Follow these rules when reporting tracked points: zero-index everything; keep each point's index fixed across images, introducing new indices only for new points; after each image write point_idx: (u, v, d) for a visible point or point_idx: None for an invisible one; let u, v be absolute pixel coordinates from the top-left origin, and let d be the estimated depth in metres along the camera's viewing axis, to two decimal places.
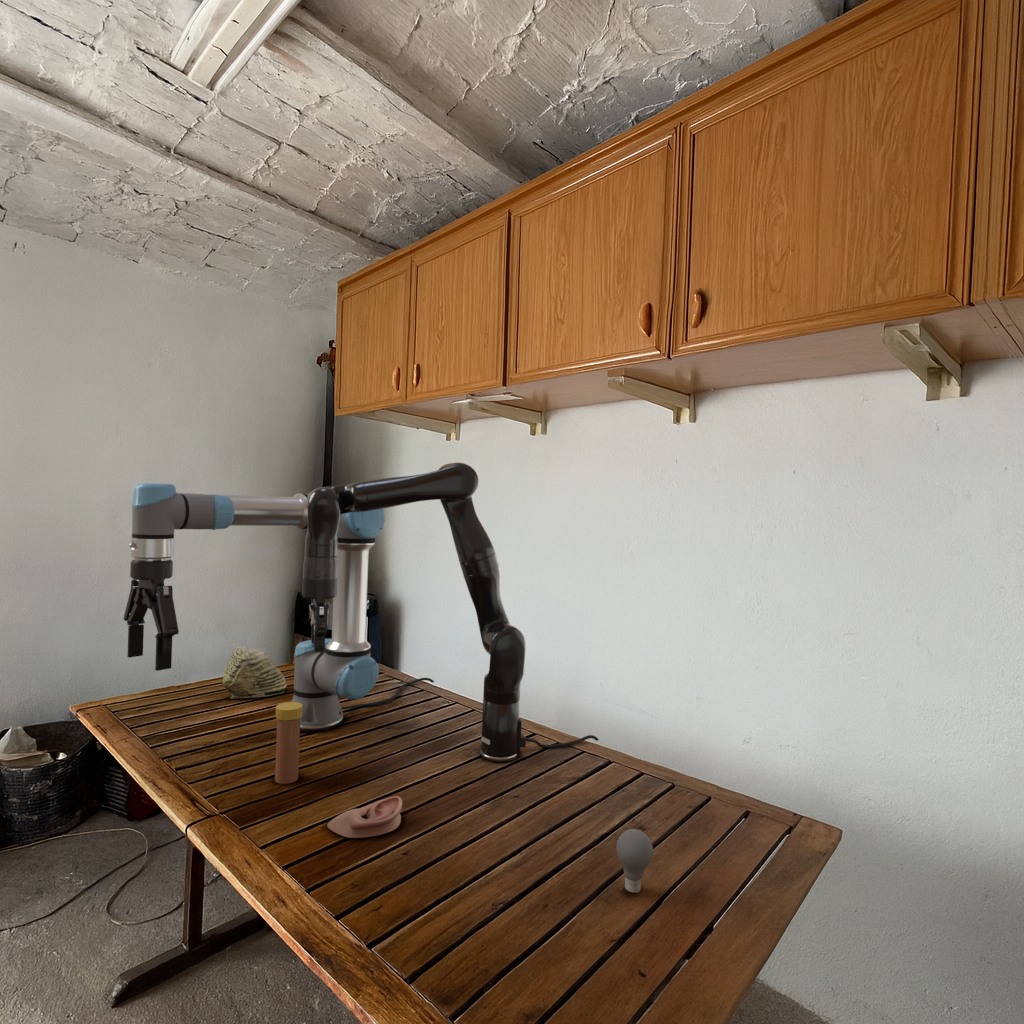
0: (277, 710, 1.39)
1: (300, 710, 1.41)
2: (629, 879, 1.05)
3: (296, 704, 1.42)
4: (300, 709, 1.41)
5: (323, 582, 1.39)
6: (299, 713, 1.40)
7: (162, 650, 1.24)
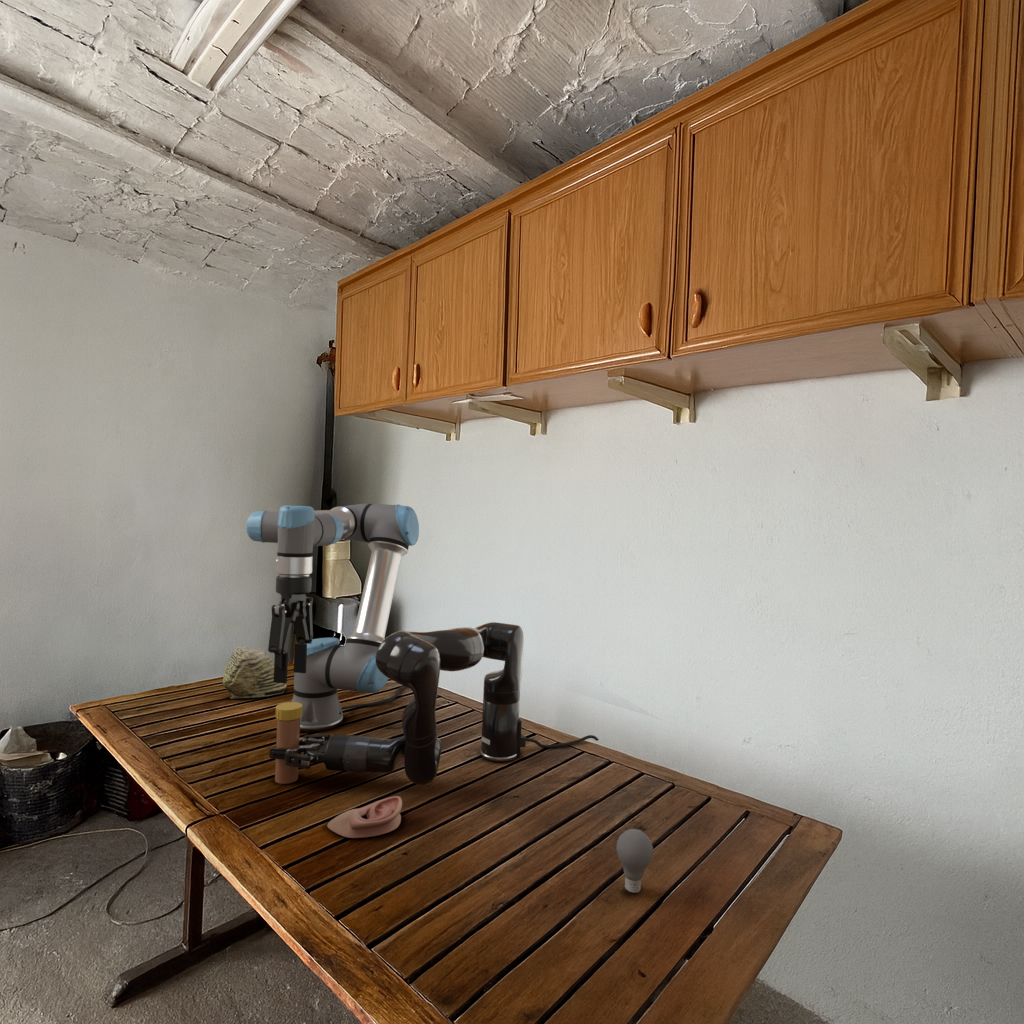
0: (277, 710, 1.39)
1: (300, 710, 1.41)
2: (629, 879, 1.05)
3: (296, 704, 1.42)
4: (300, 709, 1.41)
5: None
6: (299, 713, 1.40)
7: None
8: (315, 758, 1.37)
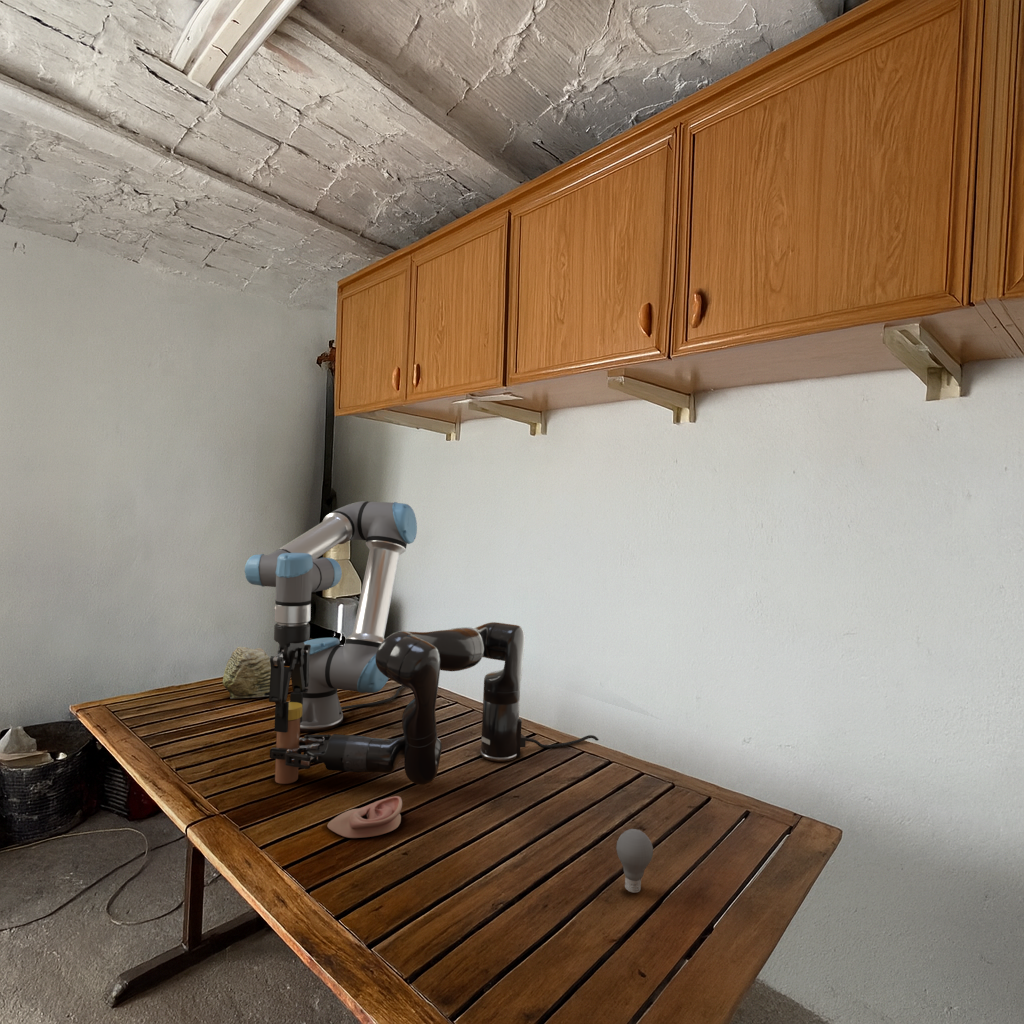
0: None
1: (300, 710, 1.41)
2: (629, 879, 1.05)
3: (296, 704, 1.42)
4: (300, 709, 1.41)
5: None
6: (299, 713, 1.40)
7: None
8: (315, 758, 1.37)
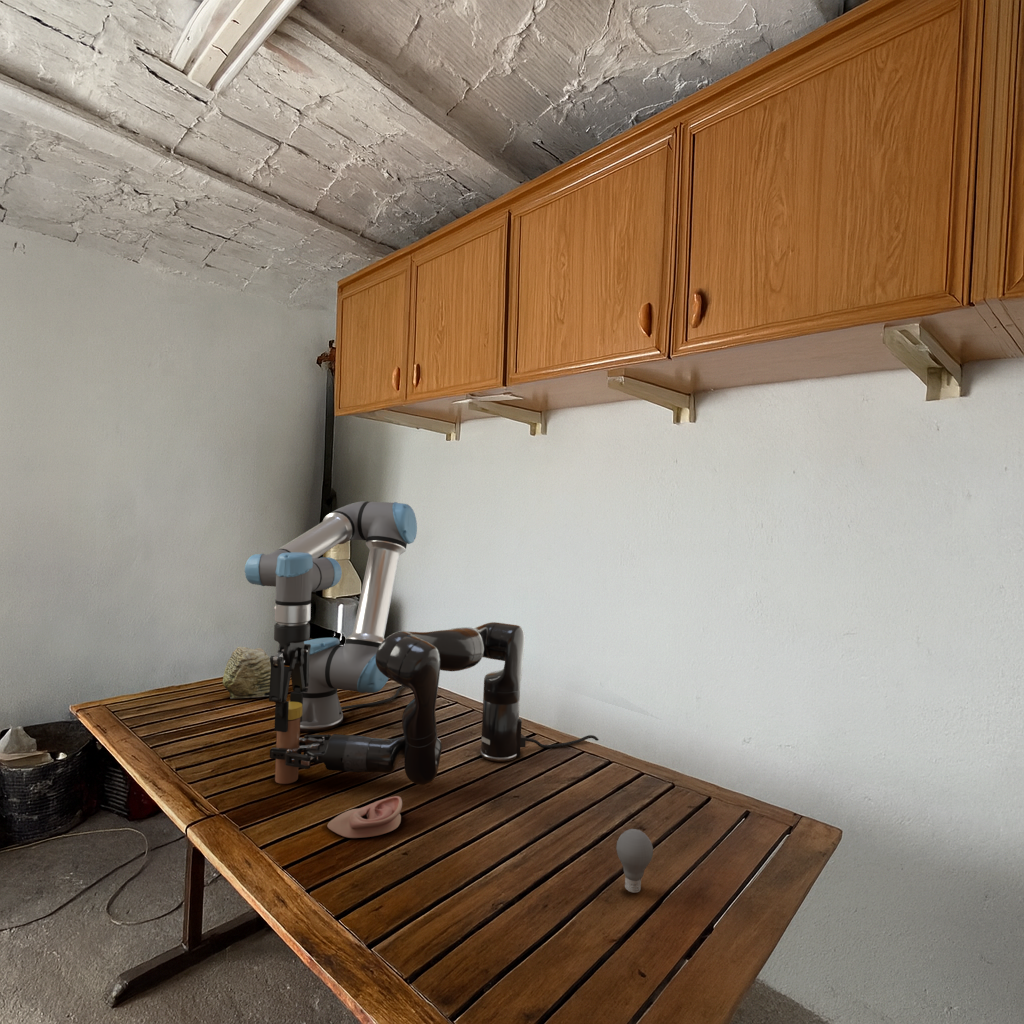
0: (294, 710, 1.39)
1: None
2: (629, 879, 1.05)
3: None
4: None
5: None
6: None
7: None
8: (315, 758, 1.37)
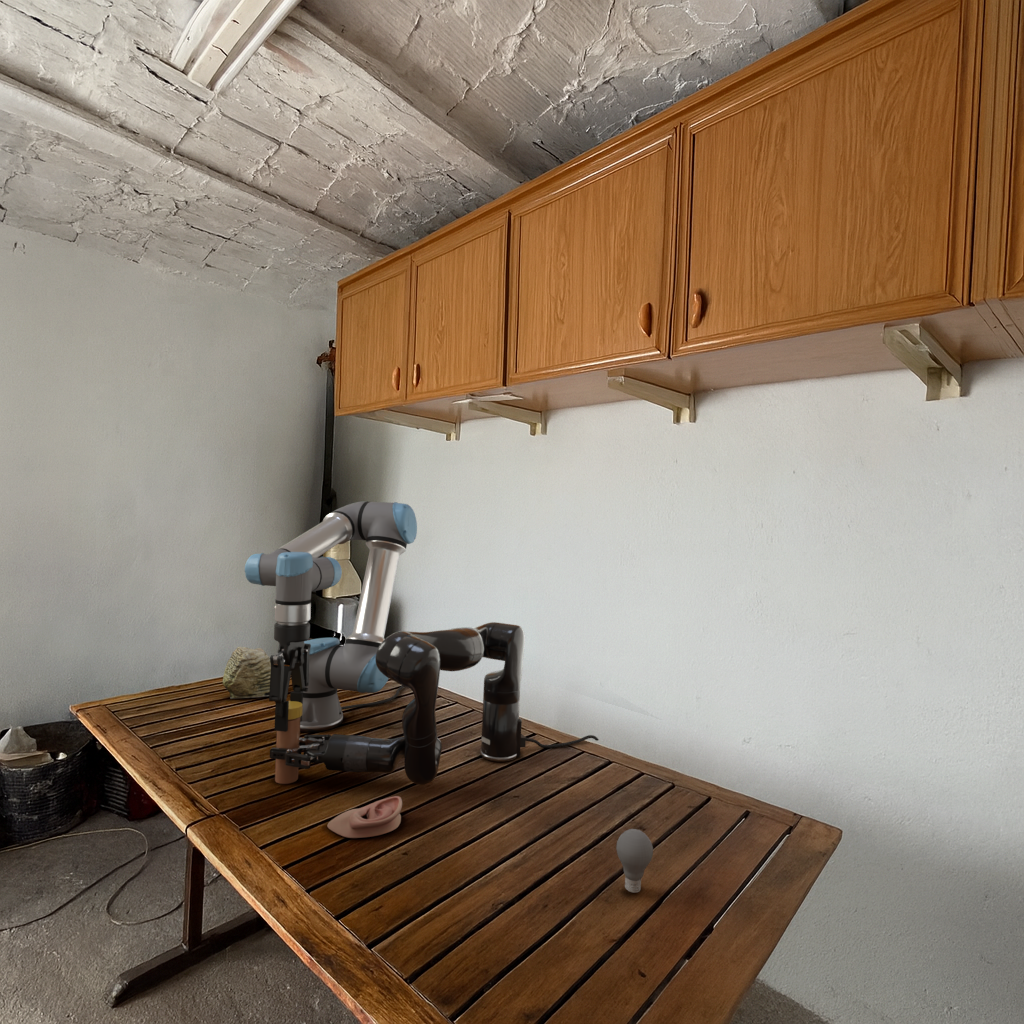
0: None
1: None
2: (629, 879, 1.05)
3: None
4: None
5: None
6: None
7: None
8: (315, 758, 1.37)
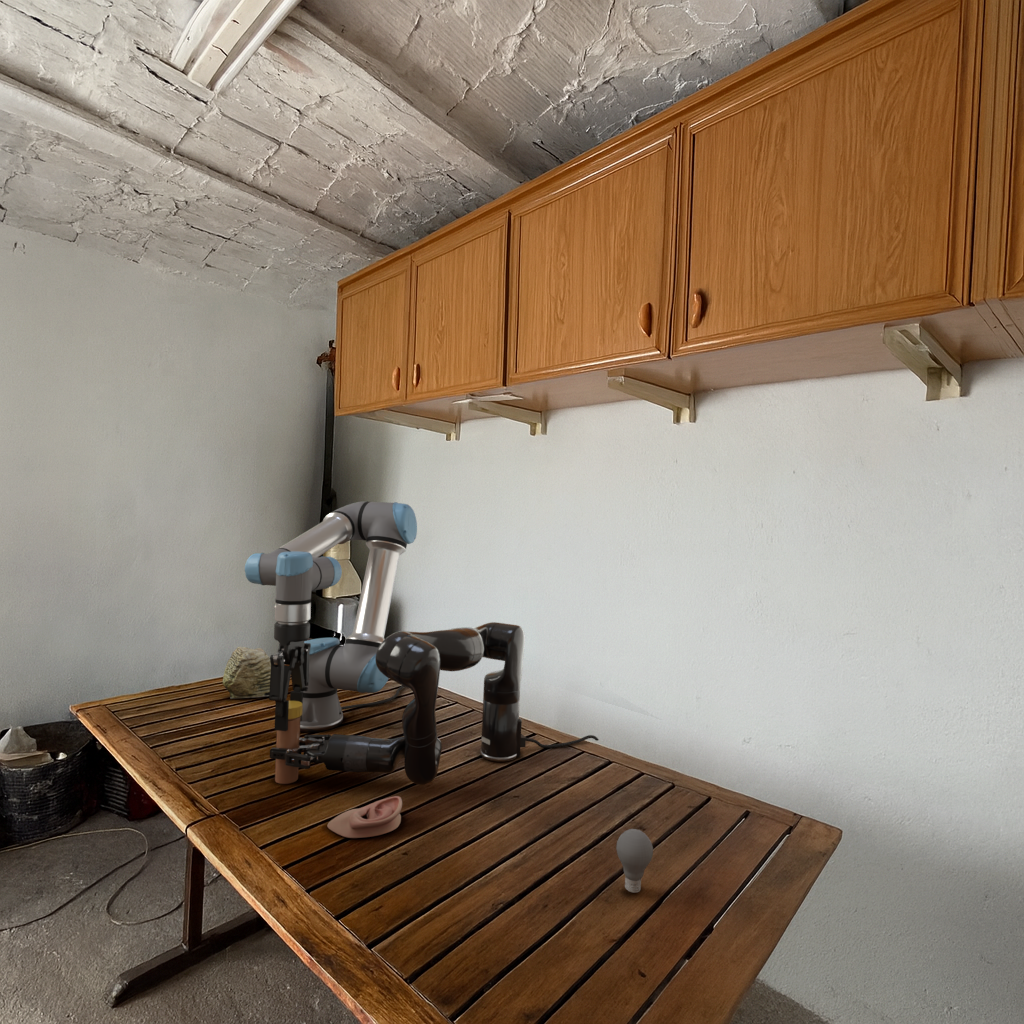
0: None
1: None
2: (629, 879, 1.05)
3: (290, 706, 1.40)
4: None
5: None
6: None
7: None
8: (315, 758, 1.37)
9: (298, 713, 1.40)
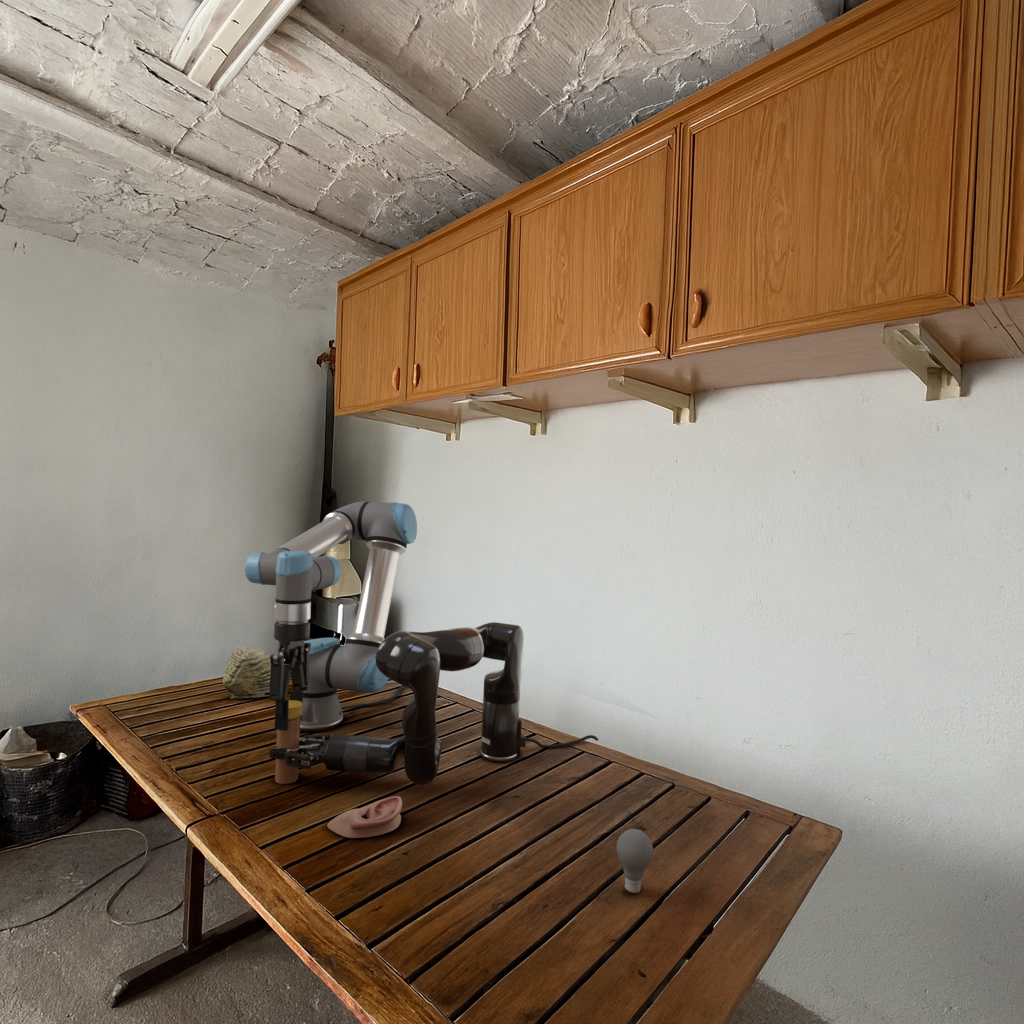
0: None
1: (297, 710, 1.40)
2: (629, 879, 1.05)
3: (297, 703, 1.42)
4: (297, 709, 1.40)
5: None
6: (295, 712, 1.39)
7: None
8: (315, 758, 1.37)
9: None
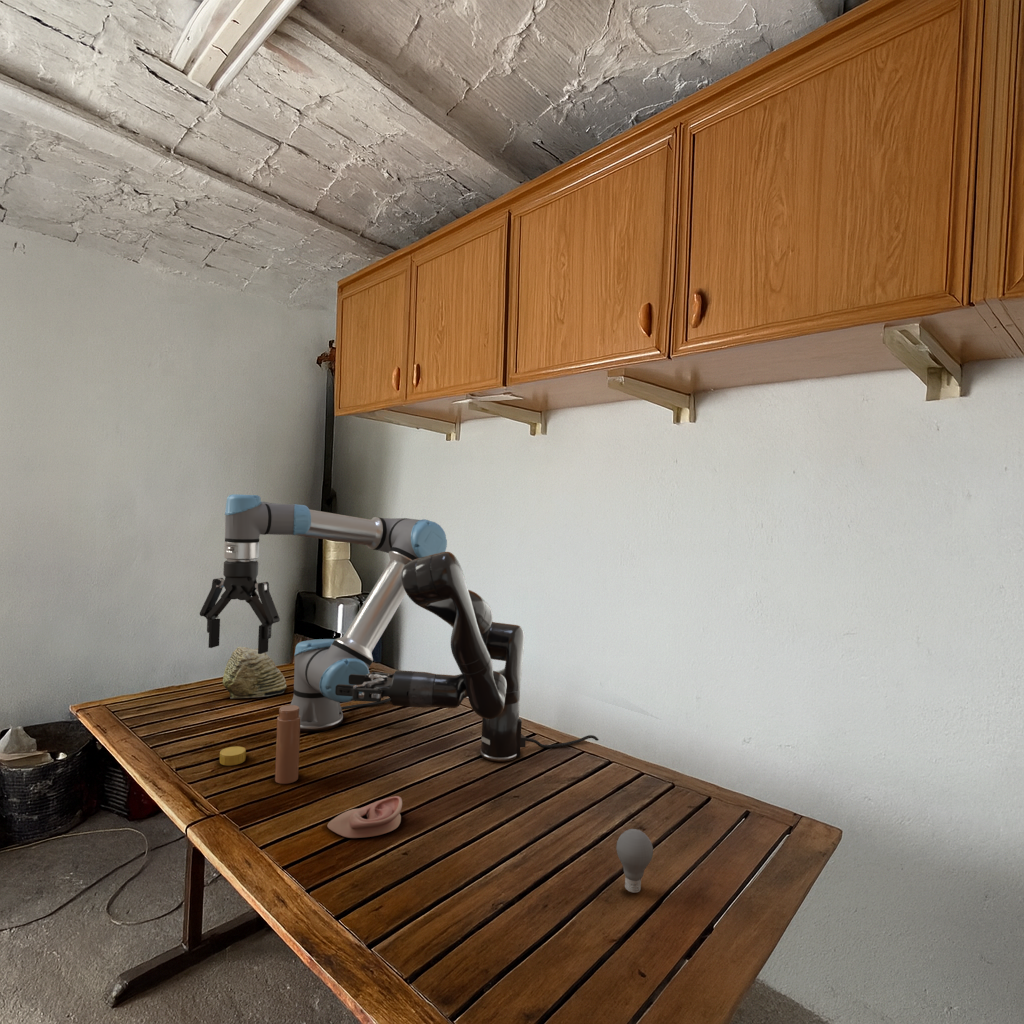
0: (232, 757, 1.47)
1: None
2: (629, 879, 1.05)
3: (233, 748, 1.51)
4: None
5: None
6: None
7: (265, 636, 1.47)
8: (382, 692, 1.35)
9: None
